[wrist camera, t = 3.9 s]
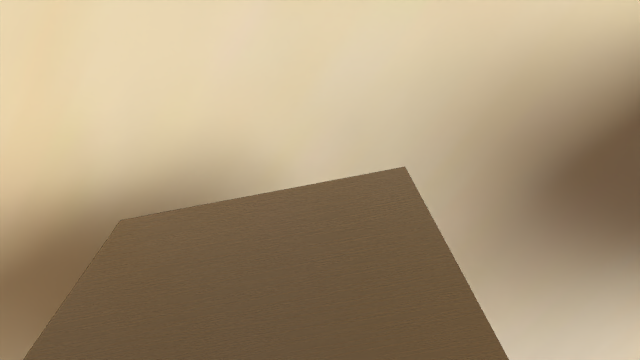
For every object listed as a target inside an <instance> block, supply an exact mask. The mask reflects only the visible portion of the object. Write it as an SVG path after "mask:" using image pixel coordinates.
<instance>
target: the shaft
mask: <svg viewBox="0 0 640 360" xmlns="http://www.w3.org/2000/svg"><path fill="white" fill-rule="evenodd" d="M23 360H509V359H508V357H507V355H506V354H505V352H504V350H503V348H502V346H501V344H500V342H499V341H498V339H497V337H496V335H495V333H494V331H493V329H492V328H491V326H490V324H489V322H488V320H487V318H486V316H485V315H484V313H483V311H482V309H481V307H480V305H479V303H478V302H477V300H476V298H475V296H474V294H473V292H472V290H471V289H470V287H469V285H468V283H467V281H466V279H465V277H464V276H463V274H462V272H461V270H460V268H459V266H458V264H457V263H456V261H455V259H454V257H453V255H452V253H451V251H450V250H449V248H448V246H447V244H446V242H445V240H444V238H443V236H442V235H441V233H440V231H439V229H438V227H437V225H436V223H435V222H434V220H433V218H432V216H431V214H430V212H429V210H428V209H427V207H426V205H425V203H424V201H423V199H422V197H421V196H420V194H419V192H418V190H417V188H416V186H415V184H414V183H413V181H412V179H411V177H410V175H409V173H408V171H407V170H406V168H405V167H401V168H396V169H390V170H385V171H380V172H375V173H369V174H364V175H359V176H353V177H348V178H343V179H337V180H332V181H327V182H322V183H316V184H311V185H306V186H300V187H295V188H290V189H284V190H279V191H274V192H269V193H263V194H258V195H253V196H247V197H242V198H237V199H231V200H226V201H221V202H216V203H210V204H205V205H200V206H194V207H189V208H184V209H178V210H173V211H168V212H163V213H157V214H152V215H147V216H141V217H136V218H131V219H125V220H120V222H119V223H118V225H117V226H116V228H115V229H114V230H113V232H112V233H111V235H110V236H109V238H108V239H107V240H106V242H105V243H104V245H103V246H102V248H101V249H100V250H99V252H98V253H97V255H96V256H95V258H94V259H93V261H92V262H91V263H90V265H89V266H88V268H87V269H86V271H85V272H84V273H83V275H82V276H81V278H80V279H79V281H78V282H77V283H76V285H75V286H74V288H73V289H72V291H71V292H70V293H69V295H68V296H67V298H66V299H65V301H64V302H63V303H62V305H61V306H60V308H59V309H58V311H57V312H56V314H55V315H54V316H53V318H52V319H51V321H50V322H49V324H48V325H47V326H46V328H45V329H44V331H43V332H42V334H41V335H40V336H39V338H38V339H37V341H36V342H35V344H34V345H33V346H32V348H31V349H30V351H29V352H28V354H27V355H26V357H25V358H24V359H23Z"/></svg>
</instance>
